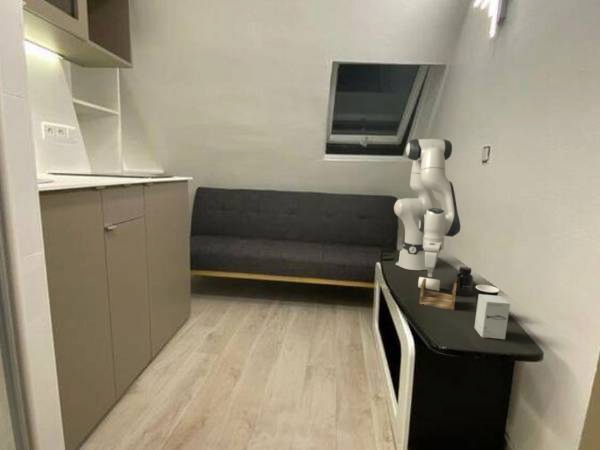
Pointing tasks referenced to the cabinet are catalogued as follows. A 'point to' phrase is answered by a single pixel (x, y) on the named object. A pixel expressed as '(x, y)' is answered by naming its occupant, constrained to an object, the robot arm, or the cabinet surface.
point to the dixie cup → (485, 291)
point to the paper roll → (430, 283)
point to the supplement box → (492, 316)
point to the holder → (437, 297)
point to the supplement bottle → (464, 281)
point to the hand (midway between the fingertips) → (430, 274)
